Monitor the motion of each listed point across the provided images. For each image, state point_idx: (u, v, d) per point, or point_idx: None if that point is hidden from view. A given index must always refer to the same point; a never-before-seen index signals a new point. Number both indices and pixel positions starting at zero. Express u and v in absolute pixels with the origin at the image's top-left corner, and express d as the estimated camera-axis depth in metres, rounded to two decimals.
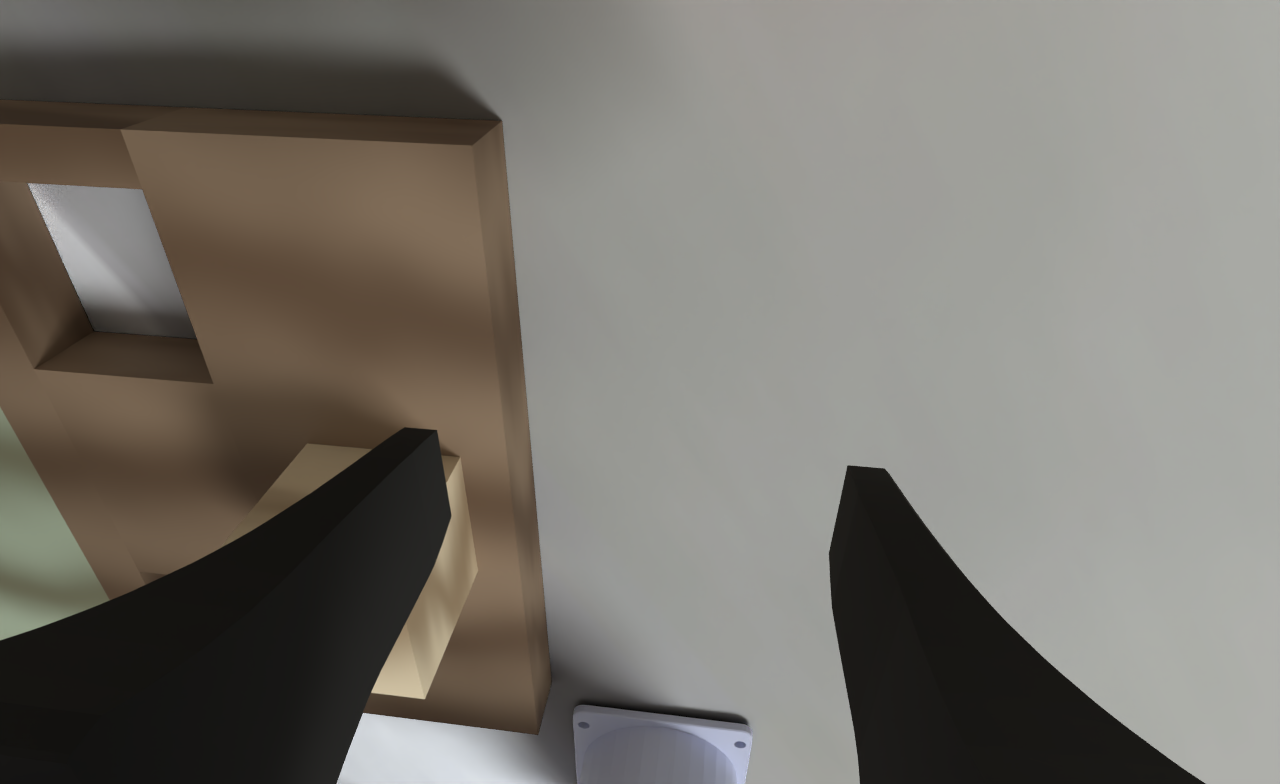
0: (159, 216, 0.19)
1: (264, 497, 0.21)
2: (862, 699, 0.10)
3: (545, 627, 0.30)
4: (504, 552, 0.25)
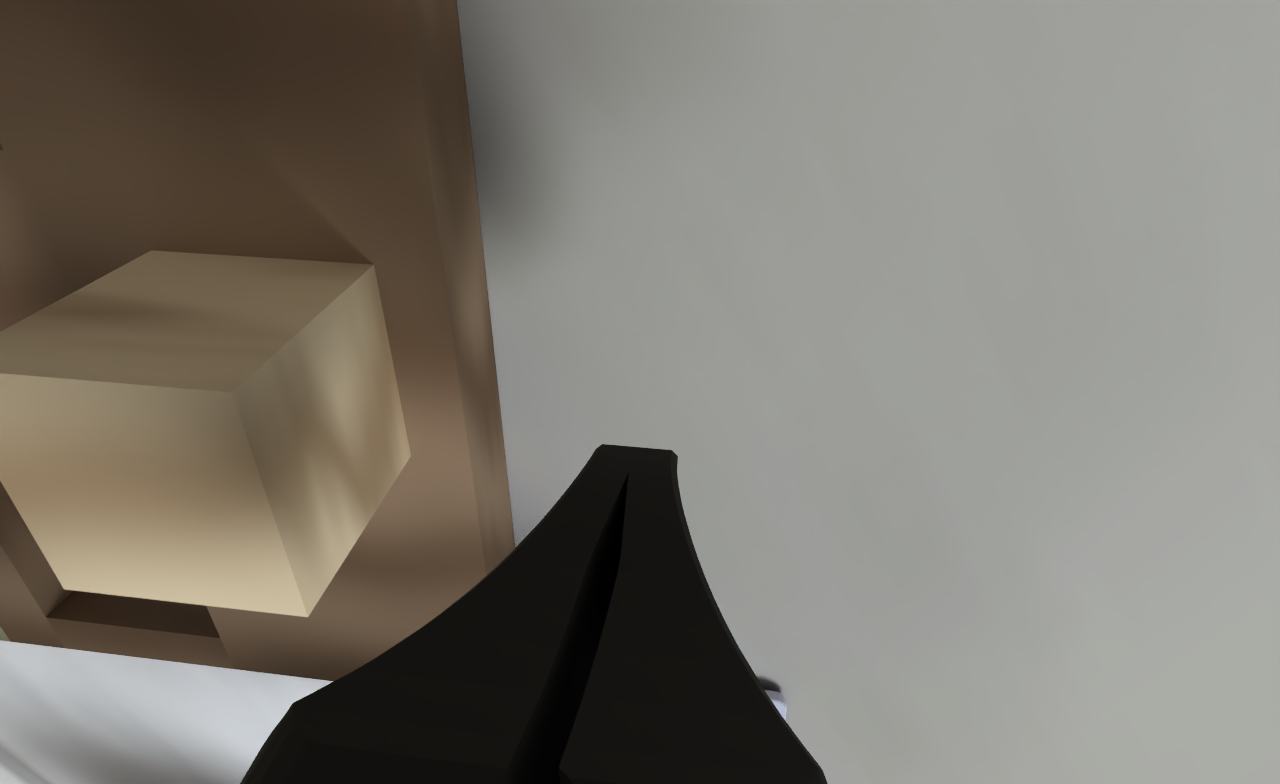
0: None
1: (60, 301, 0.14)
2: None
3: None
4: (446, 425, 0.17)
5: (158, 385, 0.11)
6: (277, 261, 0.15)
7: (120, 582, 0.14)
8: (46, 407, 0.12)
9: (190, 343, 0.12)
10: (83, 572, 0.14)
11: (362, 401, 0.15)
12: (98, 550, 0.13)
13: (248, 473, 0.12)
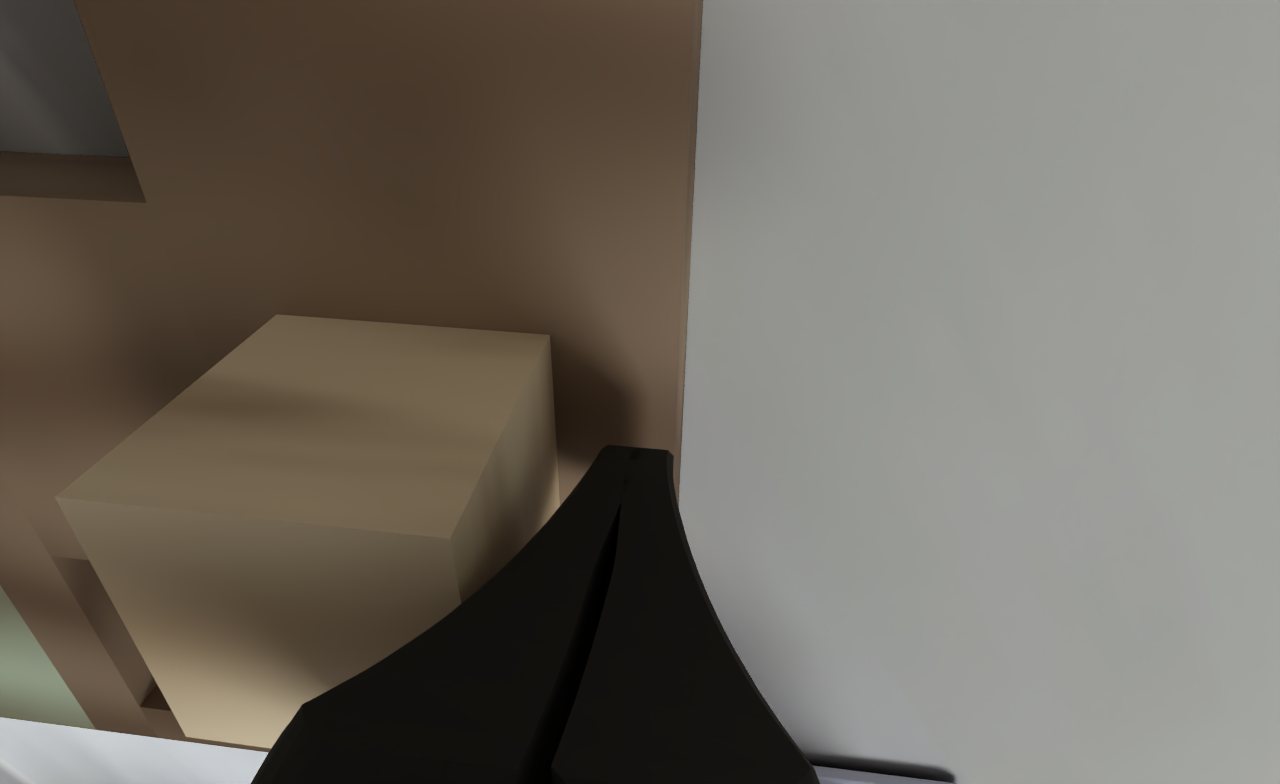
0: None
1: (189, 390, 0.11)
2: None
3: None
4: None
5: (351, 525, 0.09)
6: (432, 331, 0.13)
7: (259, 732, 0.11)
8: (195, 546, 0.09)
9: (370, 457, 0.10)
10: (213, 721, 0.11)
11: (536, 500, 0.13)
12: (238, 699, 0.11)
13: None
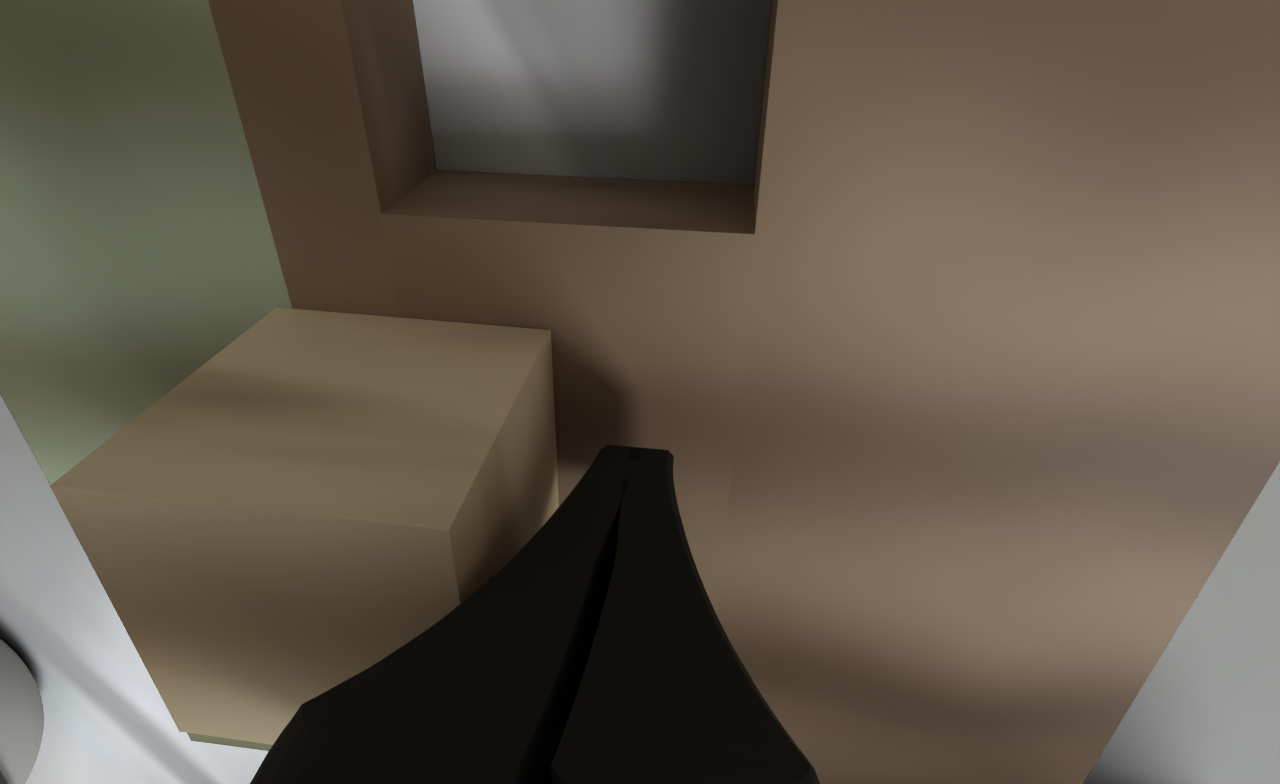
0: None
1: (187, 381, 0.11)
2: None
3: None
4: (1186, 566, 0.14)
5: (348, 517, 0.09)
6: (432, 325, 0.13)
7: (254, 727, 0.11)
8: (192, 536, 0.09)
9: (368, 449, 0.10)
10: (207, 716, 0.11)
11: (535, 496, 0.13)
12: (232, 693, 0.11)
13: None
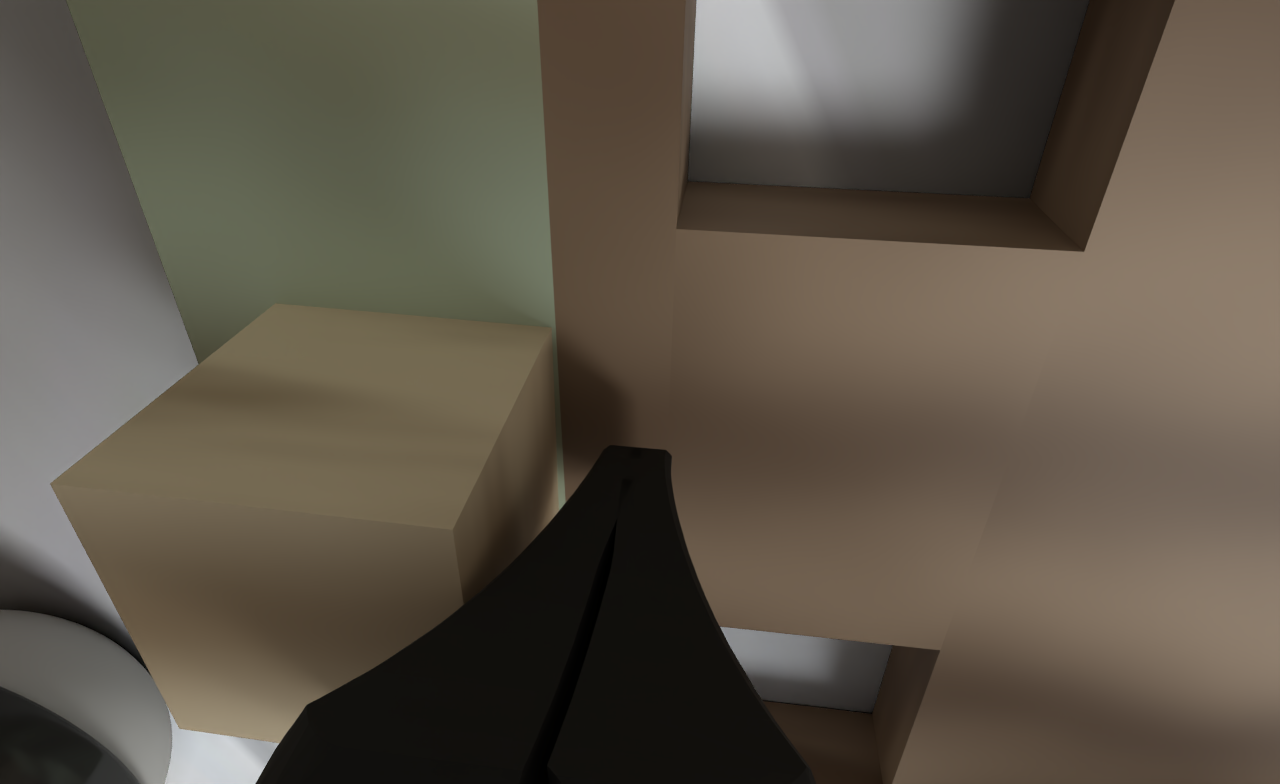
0: None
1: (187, 378, 0.11)
2: None
3: None
4: None
5: (352, 516, 0.08)
6: (433, 322, 0.13)
7: (254, 725, 0.11)
8: (194, 534, 0.09)
9: (371, 446, 0.10)
10: (207, 713, 0.11)
11: (536, 493, 0.13)
12: (232, 691, 0.11)
13: None
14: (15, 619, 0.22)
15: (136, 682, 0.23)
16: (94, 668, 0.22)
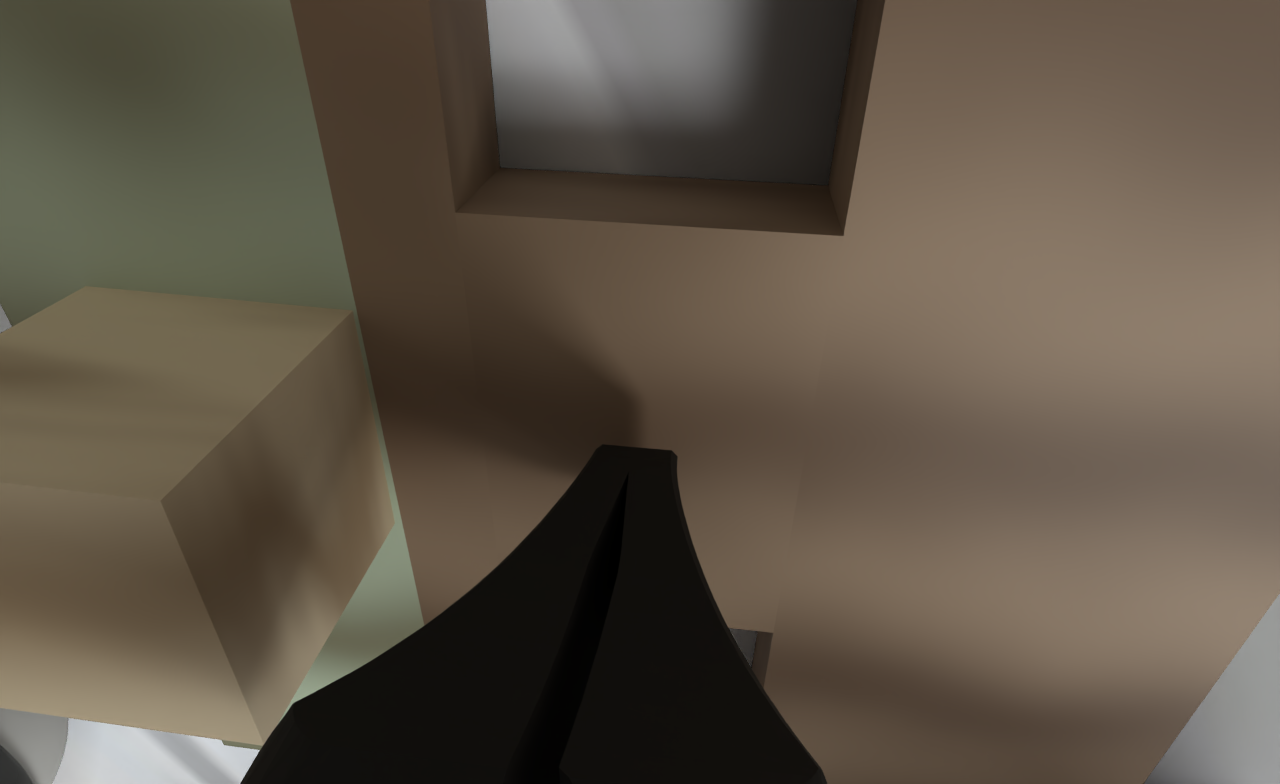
0: None
1: None
2: None
3: None
4: (1262, 576, 0.13)
5: (66, 488, 0.09)
6: (236, 304, 0.13)
7: (35, 699, 0.11)
8: None
9: (116, 423, 0.10)
10: None
11: (336, 474, 0.13)
12: (7, 664, 0.11)
13: (186, 590, 0.09)
14: None
15: None
16: None
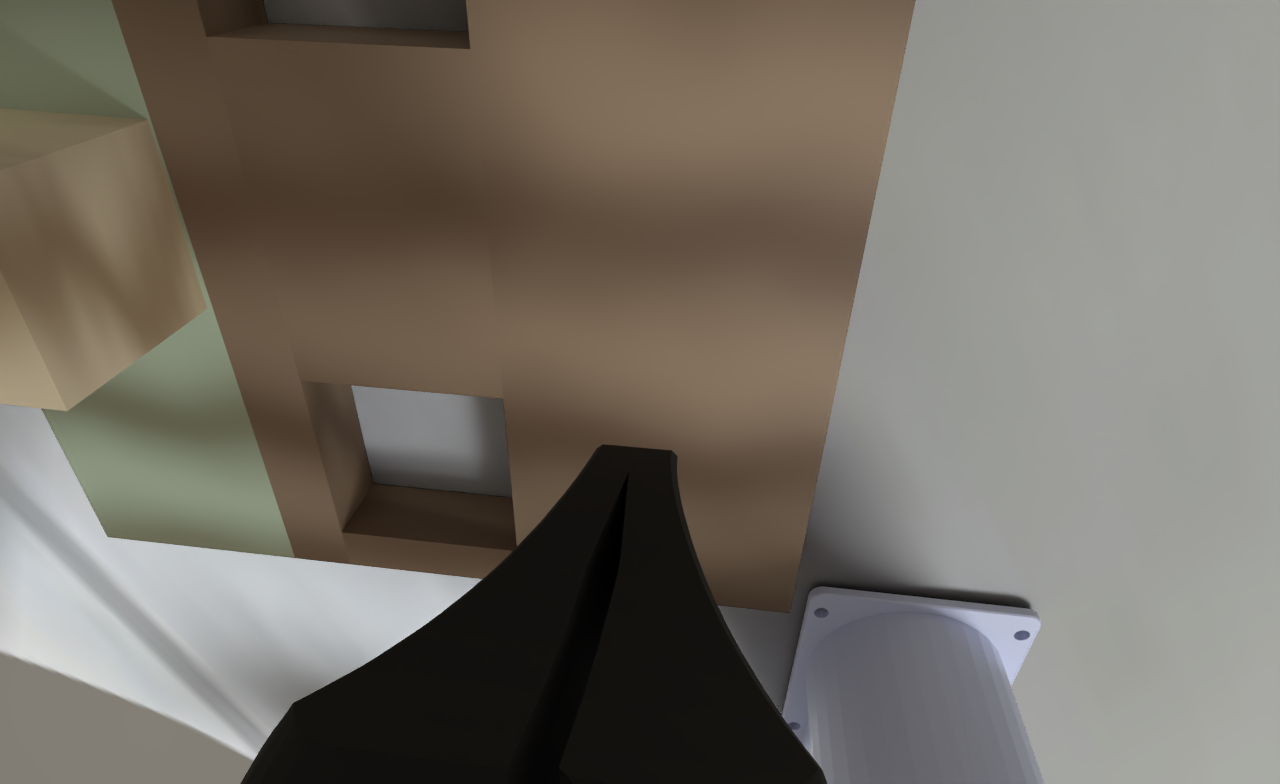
0: None
1: None
2: None
3: None
4: (828, 327, 0.18)
5: None
6: (62, 115, 0.17)
7: None
8: None
9: None
10: None
11: (136, 239, 0.17)
12: None
13: None
14: None
15: None
16: None
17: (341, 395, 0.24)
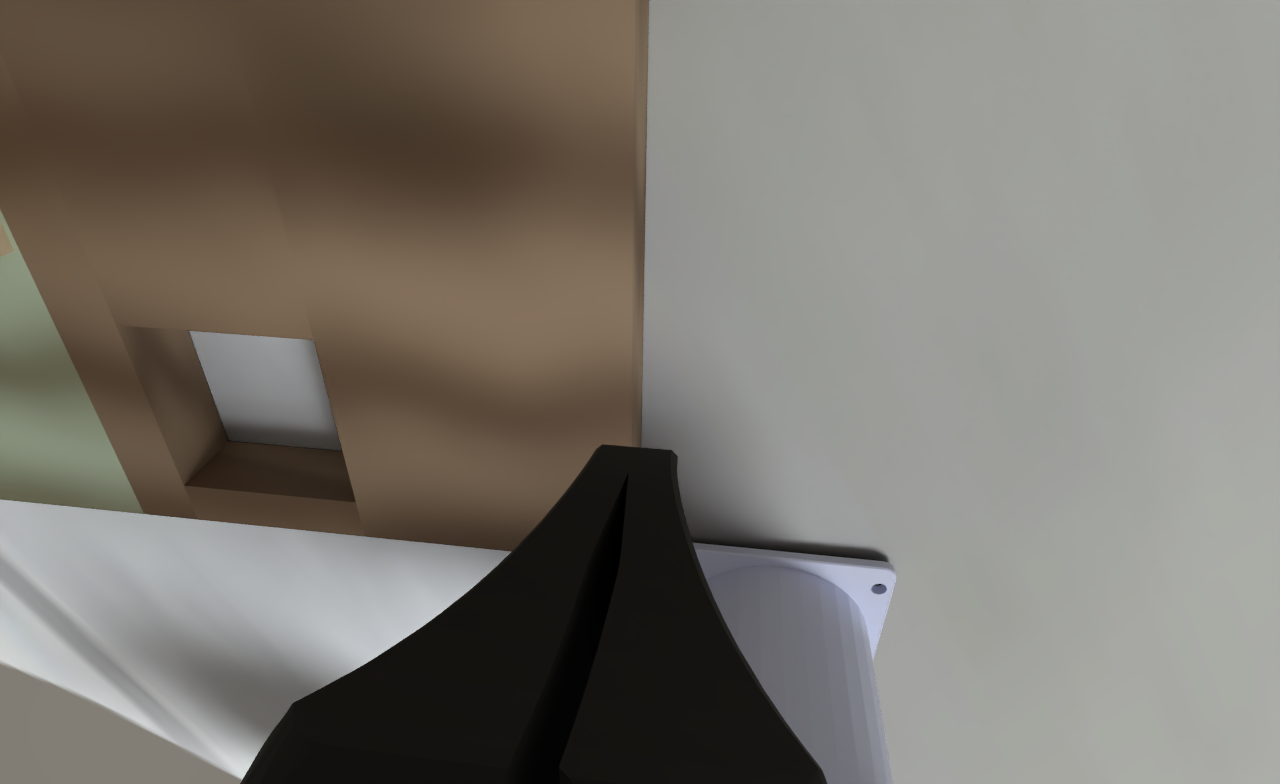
0: None
1: None
2: None
3: (640, 423, 0.23)
4: (614, 256, 0.18)
5: None
6: None
7: None
8: None
9: None
10: None
11: None
12: None
13: None
14: None
15: None
16: None
17: (178, 346, 0.24)
